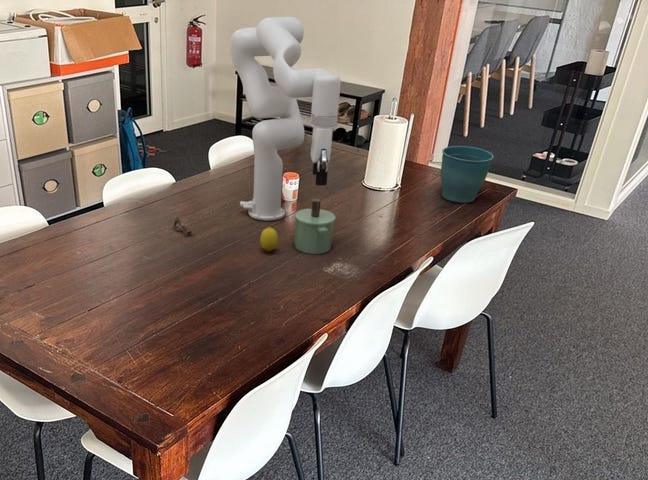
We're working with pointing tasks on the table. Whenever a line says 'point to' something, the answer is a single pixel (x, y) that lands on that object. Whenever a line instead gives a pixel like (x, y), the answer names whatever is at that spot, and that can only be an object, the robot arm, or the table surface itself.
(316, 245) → the crock
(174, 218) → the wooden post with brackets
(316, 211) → the lid
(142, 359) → the table surface
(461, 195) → the flower pot
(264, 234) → the lemon
